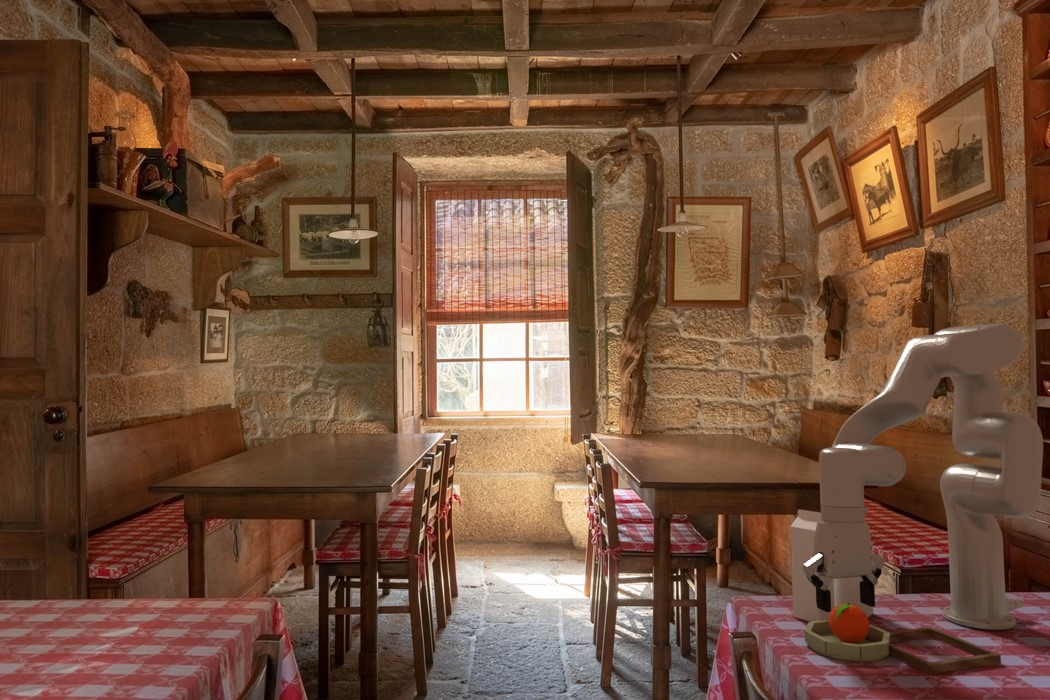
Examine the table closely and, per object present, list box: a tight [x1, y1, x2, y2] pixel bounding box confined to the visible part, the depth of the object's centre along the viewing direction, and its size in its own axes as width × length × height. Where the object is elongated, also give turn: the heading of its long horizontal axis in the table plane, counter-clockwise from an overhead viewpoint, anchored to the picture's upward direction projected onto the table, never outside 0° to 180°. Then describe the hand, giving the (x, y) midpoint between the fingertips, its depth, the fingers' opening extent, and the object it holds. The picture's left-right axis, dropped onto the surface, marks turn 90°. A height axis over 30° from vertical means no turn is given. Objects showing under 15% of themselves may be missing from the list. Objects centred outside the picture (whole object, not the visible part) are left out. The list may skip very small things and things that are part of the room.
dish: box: [804, 619, 891, 663], centre depth 133 cm, size 14×14×3 cm
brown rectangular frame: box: [866, 626, 1002, 675], centre depth 130 cm, size 15×15×2 cm
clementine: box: [829, 603, 870, 643], centre depth 133 cm, size 8×7×7 cm
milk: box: [789, 509, 835, 622], centre depth 150 cm, size 6×6×22 cm
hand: (846, 607), depth 133 cm, fingers open, 9 cm apart
